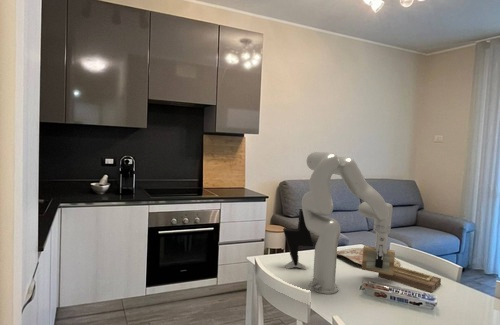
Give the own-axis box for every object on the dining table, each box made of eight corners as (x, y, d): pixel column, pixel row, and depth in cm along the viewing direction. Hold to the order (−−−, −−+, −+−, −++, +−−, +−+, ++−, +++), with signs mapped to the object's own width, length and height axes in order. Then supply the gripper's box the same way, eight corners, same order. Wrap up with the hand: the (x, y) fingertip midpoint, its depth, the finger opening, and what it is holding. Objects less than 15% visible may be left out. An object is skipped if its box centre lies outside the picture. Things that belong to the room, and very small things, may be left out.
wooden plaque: (392, 275, 156) (395, 252, 155) (361, 269, 161) (363, 247, 160) (392, 273, 159) (394, 250, 159) (361, 267, 164) (363, 245, 164)
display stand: (431, 292, 148) (431, 284, 148) (378, 276, 165) (378, 268, 164) (440, 284, 158) (441, 276, 158) (389, 269, 174) (390, 262, 174)
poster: (359, 277, 171) (404, 269, 182) (360, 266, 170) (405, 259, 181) (328, 255, 197) (368, 250, 208) (328, 245, 196) (369, 240, 207)
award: (309, 266, 174) (313, 209, 173) (312, 269, 169) (315, 211, 167) (281, 265, 174) (284, 208, 172) (282, 268, 168) (285, 210, 167)
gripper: (391, 233, 150) (387, 273, 151) (389, 226, 166) (386, 262, 166) (374, 230, 152) (370, 270, 153) (373, 224, 168) (370, 260, 169)
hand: (378, 265), depth 160 cm, fingers closed on wooden plaque, 3 cm apart
